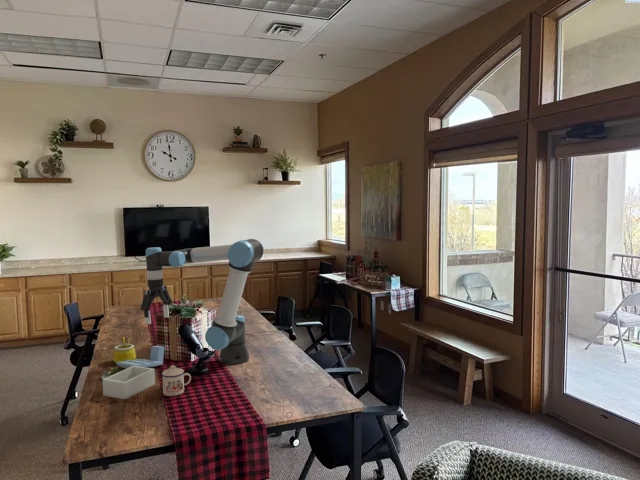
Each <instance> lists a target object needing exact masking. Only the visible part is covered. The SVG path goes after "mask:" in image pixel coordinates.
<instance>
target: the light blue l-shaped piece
mask: <svg viewBox="0 0 640 480" xmlns="http://www.w3.org/2000/svg"><path fill="white" fill-rule="evenodd" d="M150 346H151V345H150ZM165 350H166V349H165V346H161V345H153V346H151V347H150V354H149V355H150V358H149V359H145V358H143V359H141V358H140V359H139V358H135V360H132V361H131V360H126V361H123V362H117V363H115V364H116V366H119V367H127V368H129V367H132V366H139V367H146V368H154V367H158V366H163V364H164V357H165Z"/></svg>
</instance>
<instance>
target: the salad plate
mask: <svg viewBox="0 0 640 480" xmlns="http://www.w3.org/2000/svg"><path fill="white" fill-rule="evenodd" d="M125 369H127V367H122V366H117V367H113V368H112V367H111V370H110V371H107V370H102V373H103V374H102V375H101V380H102V379H105V378H107V377H109V376H111V375H114V374H116V373H118V372H120V371H123V370H125Z"/></svg>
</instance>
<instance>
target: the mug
mask: <svg viewBox="0 0 640 480" xmlns="http://www.w3.org/2000/svg"><path fill="white" fill-rule="evenodd" d="M131 337H132V336H131V335H129V338H128V343H126V341H125V337H124V336H123V337H122V344H118V345H115V346H114V348H113V355H112V356H113V357H112V360H113V363H114V364H116V363H117V362H123V361H126V360H131V361H132V360H135V359H137V354H136V349H135V345H134V344H131V343H130V340H131Z"/></svg>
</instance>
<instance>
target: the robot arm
mask: <svg viewBox="0 0 640 480" xmlns="http://www.w3.org/2000/svg"><path fill="white" fill-rule="evenodd" d="M264 251H265V250H264V246H263V244H262V243H261V241H259V240H257V239H254V238H248V239H244V240H238V241H236V242H233V243H232V244H222V245H214V246H203V247H194V248H192V247H191V248H190V247H188V248H184V249H177V250H173V251H172V250H171V251H162V248H161V247H159V246H157V247H147V248H146V249H145V264H146V265H145V266H146V278H147V280H146V281H147V282H146V283H147V287H148V289H145V290H144V292H143V299H142V302H141V306H140V311H143V314H144V315H143V316H144V320H145V321H144V323H145V324H146V325H151V324H152V319H151V317H152V316H151V310H150V309H151V306H152V304H153V302H154V300H155V299H156V298H158V297H159V299H160V301H161V302H163V305H162V307H163V318H170V313H169V312H170V305H171V303H172V298H171V296H170V294H169V291H168V289H167V287H168V286H167V285H164V272H163V268H166V267H168V268H177V267H178V268H180V267H183V266H184V265H185V264H194V263H195V264H196V263H205V262H219V261H220V262H221V261H228V263H227V266H228V268H229V273H228V276H227V280H226V284H225V288H224V291H223V295H222V298H221V302H220V305H219V308H218V312H217V315H216V316H214V317H213V319H212V323H211V326H210V327H208V329H207V330H206V331H205V335H204V338H205V341H206V344H207V345H208V346H209V347H210V348H212V349H213V350H216V351H218V350H219V351H220V353H219V358H218V360H219V362H220V364H225V365H238V364H243V363H247V362H248V361H249V360H250V353H249V350H248V348H247V344H246V343H247V342H246V320H245V316H244V315H241V314H238V310H239V306H240V303H241V300H242V296H243V293H244V289H245V286H246V282H247V278H248V276H249V274H250V273H253V269H254V266H255V263H256V262H259V261H260V260H261V259H262V258H263V255H264Z"/></svg>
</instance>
